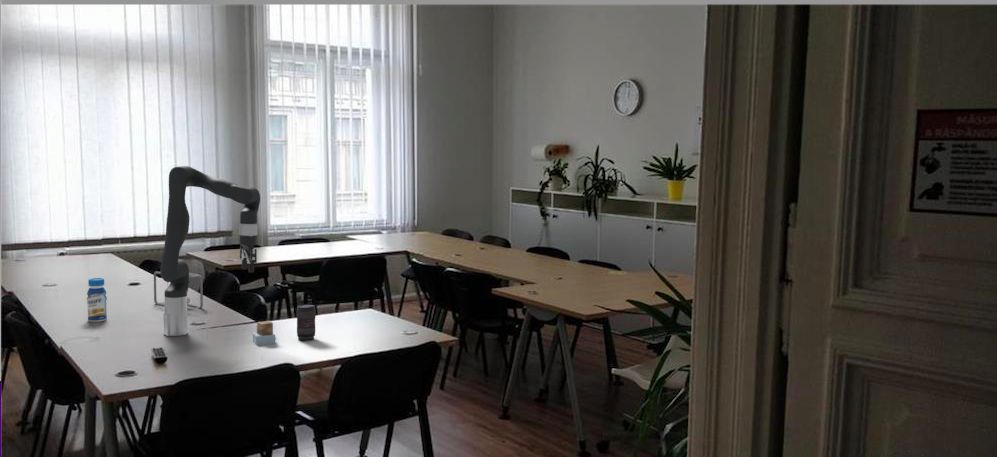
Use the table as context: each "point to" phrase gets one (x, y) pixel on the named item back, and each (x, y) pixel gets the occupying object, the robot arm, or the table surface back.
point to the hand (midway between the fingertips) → (247, 270)
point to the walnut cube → (265, 328)
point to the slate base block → (263, 339)
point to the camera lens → (306, 322)
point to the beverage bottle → (96, 300)
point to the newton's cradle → (187, 291)
